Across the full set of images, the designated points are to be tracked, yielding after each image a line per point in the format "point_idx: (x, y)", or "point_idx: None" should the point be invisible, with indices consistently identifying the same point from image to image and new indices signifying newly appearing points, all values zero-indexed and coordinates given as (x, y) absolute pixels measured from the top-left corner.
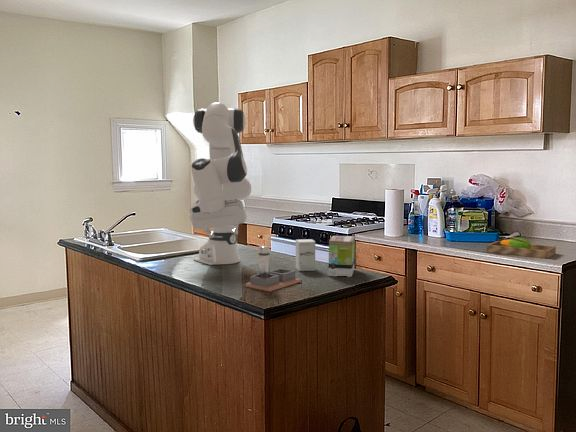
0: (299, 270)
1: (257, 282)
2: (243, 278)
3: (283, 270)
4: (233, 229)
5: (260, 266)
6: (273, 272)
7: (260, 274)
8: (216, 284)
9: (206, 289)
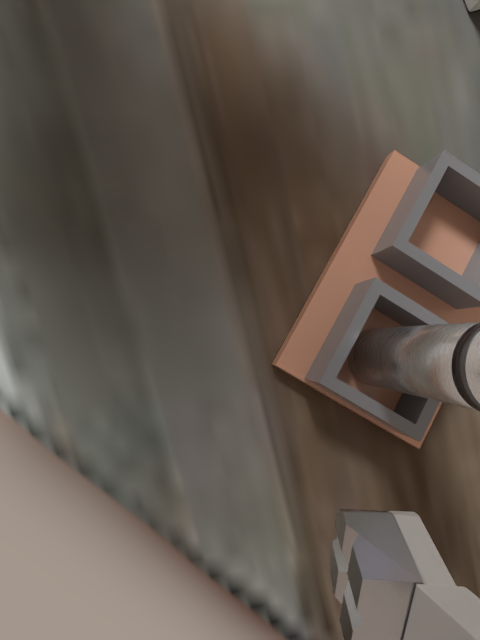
0: (474, 9)
1: (355, 407)
2: (215, 182)
3: (460, 180)
4: (363, 604)
5: (417, 394)
6: (428, 266)
7: (386, 385)
8: (95, 335)
9: (69, 455)
